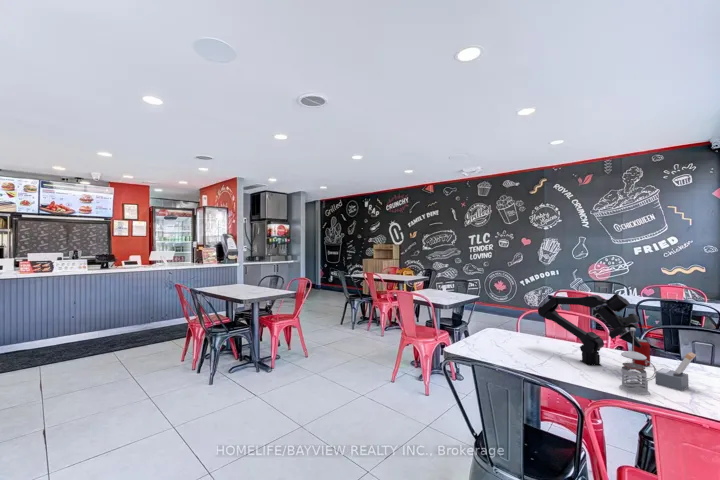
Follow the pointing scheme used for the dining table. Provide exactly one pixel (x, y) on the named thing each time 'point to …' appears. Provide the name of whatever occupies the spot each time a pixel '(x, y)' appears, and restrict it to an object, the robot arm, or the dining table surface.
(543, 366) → the dining table surface
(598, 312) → the robot arm
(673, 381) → the switch box
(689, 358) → the lever
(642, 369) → the french press
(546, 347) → the dining table surface
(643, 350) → the beverage can
